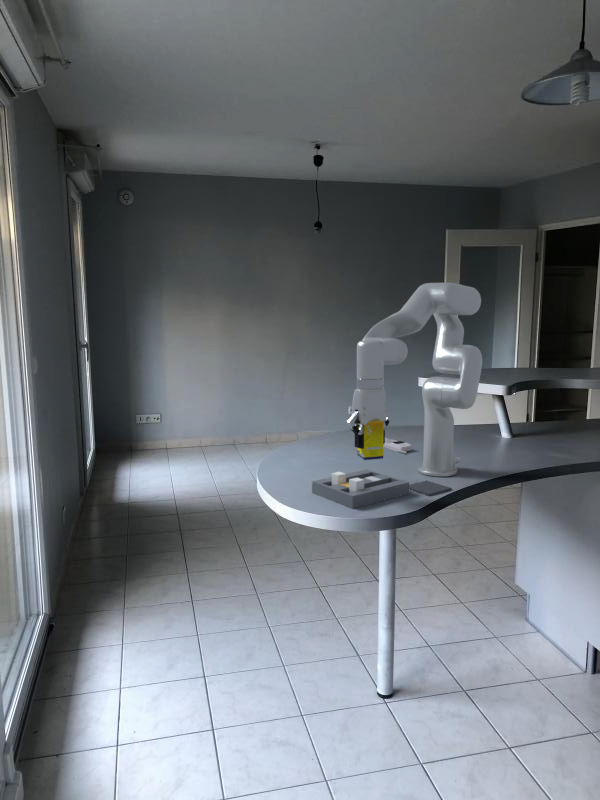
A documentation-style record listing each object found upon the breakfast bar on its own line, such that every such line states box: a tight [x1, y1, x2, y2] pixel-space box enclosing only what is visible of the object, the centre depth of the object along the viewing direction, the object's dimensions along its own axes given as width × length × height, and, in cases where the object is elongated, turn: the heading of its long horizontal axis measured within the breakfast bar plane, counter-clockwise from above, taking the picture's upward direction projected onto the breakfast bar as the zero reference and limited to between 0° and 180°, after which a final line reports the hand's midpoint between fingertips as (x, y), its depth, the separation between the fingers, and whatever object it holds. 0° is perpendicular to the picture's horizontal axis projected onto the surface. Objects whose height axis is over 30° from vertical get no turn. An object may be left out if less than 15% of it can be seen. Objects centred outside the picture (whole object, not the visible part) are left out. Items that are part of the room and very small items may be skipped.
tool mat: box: [409, 480, 453, 497], centre depth 189 cm, size 10×10×1 cm
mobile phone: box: [383, 436, 413, 454], centre depth 243 cm, size 6×6×25 cm
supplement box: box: [356, 420, 384, 461], centre depth 179 cm, size 6×6×11 cm
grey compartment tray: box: [311, 469, 410, 510], centre depth 184 cm, size 22×18×4 cm
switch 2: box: [349, 478, 364, 492], centre depth 178 cm, size 3×3×4 cm
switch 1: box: [331, 471, 347, 485], centre depth 184 cm, size 3×3×4 cm
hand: (369, 445), depth 179 cm, fingers closed on supplement box, 7 cm apart
